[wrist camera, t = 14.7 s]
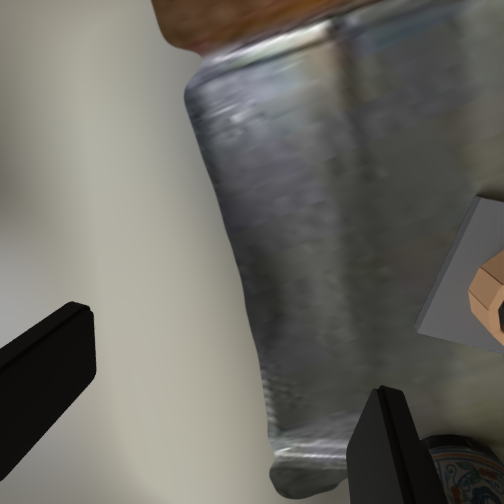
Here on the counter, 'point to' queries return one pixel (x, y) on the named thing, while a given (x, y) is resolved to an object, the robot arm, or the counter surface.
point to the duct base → (471, 283)
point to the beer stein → (467, 469)
